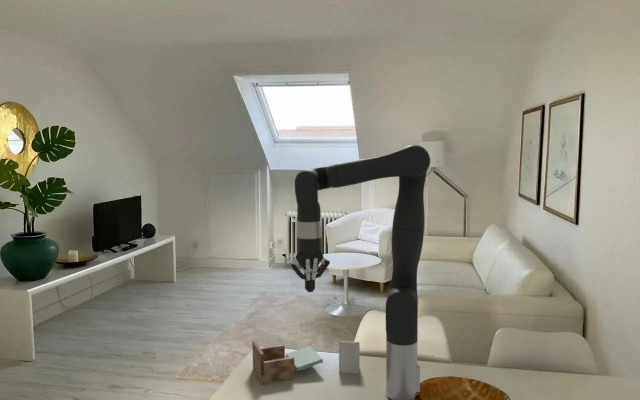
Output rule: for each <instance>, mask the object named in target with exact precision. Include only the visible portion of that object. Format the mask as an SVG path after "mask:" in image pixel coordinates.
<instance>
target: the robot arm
mask: <svg viewBox="0 0 640 400" xmlns="http://www.w3.org/2000/svg"><path fill="white" fill-rule="evenodd" d="M430 165H431V157H430V154H429V151H427V149H426V148H425V147H424V146H421V145H419V144H409V145H406V146H405V147H403V148H402V149H399V150H397V151H394V152H390V153H388V154H384V155H381V156H377V157H371V158H363V159H361V158H360V159H354V160H349V161H343V162H339V163H334V164H330V165H328V166H320V167H316V168H308V169H305V170H301V171H299V172H298V173H297V174H296V176H295V178H294V192H295V193H294V194H295V200H296V204H297V205H296V206H297V212H296V213H297V214H296V215H297V217H296V219H297V223H296V256H295V259H294V260H293V261H291V262H289V263H288V265H289V267H290V268H291V269H292V270H293V271H294V273H295V274H296V275H297V277H298V278H300V279H301V280H304V289H305V290H306V292H307V293H313V292H314V290H315V289H316V279H318V278H321V277H322V276H323V274H324V272H326V270H327V268H328V267H329V265H330V264H331V263H330V262H331V261H330V260H329V259H327V258H325V257H324V254H323V251H322V250H323V248H322V247H323V241H322V240H323V239H322V237H323V235H322V233H323V231H322V222H321V221H322V219H321V212H322V211H321V204H320V203H319V195H318V194H319V192H318V191H321V190H327V189H330V188H331V189H332V188H333V189H334V188H336V189H337V188H343V187H348V186H353V185H354V186H355V185H358V184H361V183H366V182H371V181H374V180H378V179H379V180H380V179H387V178H397V177H398V183H399V184H398V194H397V199H396V203H395V208H394V213H393V218H392V219H393V220H392V227H391V257H392V273H391V280H390V286H389V290H388V293H387V297H386V301H385V336H386V340H385V341H386V342H385V344H386V345H385V351H386V355H385V356H386V357H385V359H386V360H385V363H386V364H385V366H386V367H385V373H386V374H385V382H386V383H385V394H386V396H387V398H389V399H390V400H415V399H414V393H416V392H420V393H421V365H419V364H418V341H419V340H418V336H419V335H418V334H419V333H418V331H419V330H418V329H419V328H418V326H419V325H418V323H419V320H418V317H419V315H418V314H419V313H418V312H419V297H418V268H419V263H420V259H421V255H422V250H423V245H424V244H423V243H424V235H425V234H424V233H425V200H424V195H425V194H424V192H425V184H426V178H427V173H428V170H429V168H430ZM299 265H300V267H301V268H302V271H303V272H302V271H301V269H299Z"/></svg>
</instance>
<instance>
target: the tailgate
mask: <svg viewBox="0 0 640 400" xmlns="http://www.w3.org/2000/svg"><path fill="white" fill-rule="evenodd" d="M289 357H294V371H296V372H299V371H302V370H305V369H308V368H310V367H314V366H316V365H320V364H323V363H324V359H323V358H322V357H321V355H320V354H319V353H318V352H317V351H316V350H315V349H314V348H313V346H311V345H309V346H305V347H302V348H299V349H297V350H294V351H291V352H288V353H285V358H289Z"/></svg>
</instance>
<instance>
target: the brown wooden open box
mask: <svg viewBox="0 0 640 400" xmlns="http://www.w3.org/2000/svg"><path fill="white" fill-rule="evenodd" d="M251 343H252V344H251V345H252V370H253V372H254V374H255V375H256V377H257V379H258V381H259V383H260V384H261V385H267V384H273V383H278V382H283V381H289V380H295V379H296V378H295V376H296V375H295V369H294V357H289V358H286V356H285V355H286V352H285V351H286V350H285V349H286V348H285V346H286V345H285V344H279V345H272V346H265V347H260V345H259V344H258V342H257V341H256V340H255V339H254V340H251Z"/></svg>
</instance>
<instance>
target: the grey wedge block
mask: <svg viewBox="0 0 640 400" xmlns="http://www.w3.org/2000/svg"><path fill="white" fill-rule="evenodd" d="M338 344H339V345H338V373H339V374H360V369H361V367H360V364H361V362H360V358H361V356H360V353H361V352H360V351H361V349H360V346H361V345H360V342H359V341H341V340H340V341H338Z"/></svg>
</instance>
